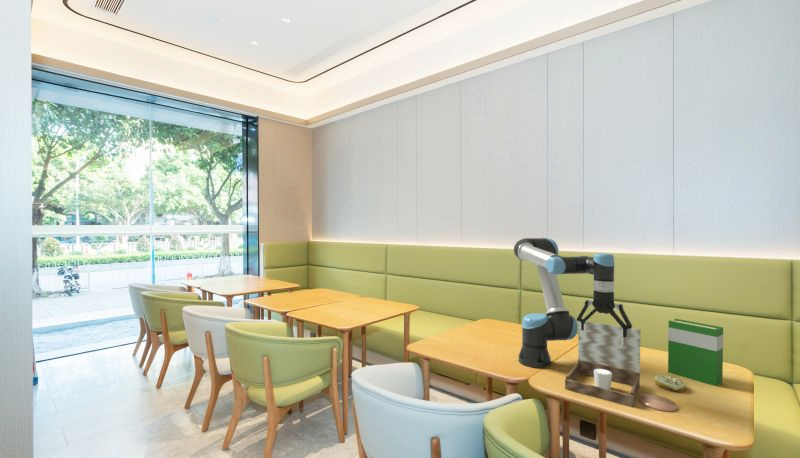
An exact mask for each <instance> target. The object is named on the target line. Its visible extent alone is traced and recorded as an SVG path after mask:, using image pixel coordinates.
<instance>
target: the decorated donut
mask: <svg viewBox="0 0 800 458" xmlns="http://www.w3.org/2000/svg"><path fill="white" fill-rule="evenodd" d="M654 382H655V384H656V385H657V386H658V387H659V388H661V389H664V390H667V391H671V392H672V391H673V392H681V393H682V392H686V389H687V383H686V382H685V381H684V380H682V379H680V378H678V377H675V376H671V375H667V374H658V375H656V376H654Z"/></svg>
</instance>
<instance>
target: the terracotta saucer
mask: <svg viewBox="0 0 800 458" xmlns="http://www.w3.org/2000/svg"><path fill="white" fill-rule="evenodd" d="M638 401H639V402H640V404H642V405H643V406H646V407H647V408H649V409H651V410H655V411H660V412H675V411H677V410H678V405H677V404H676V402H675V401H673V400H671V399H669V398H666V397H664V396H661V395H656V394H648V393H647V394H641V395H639V396H638Z"/></svg>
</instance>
